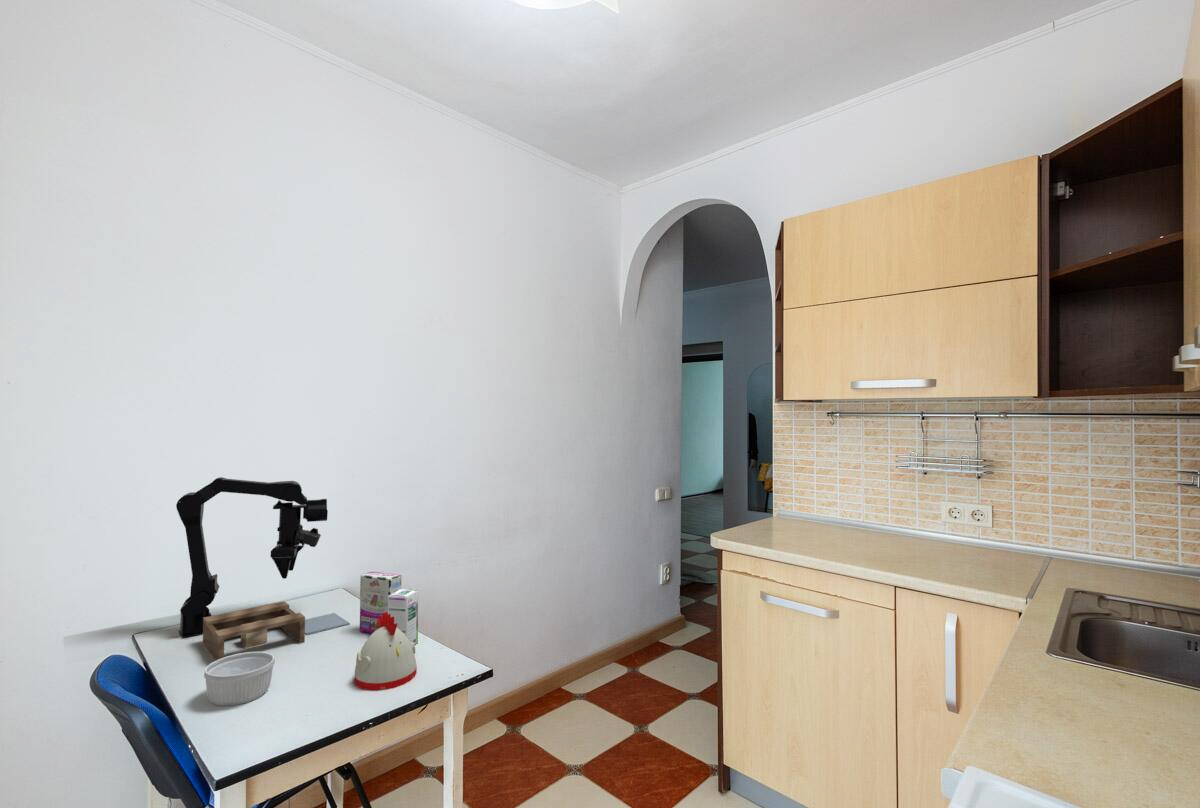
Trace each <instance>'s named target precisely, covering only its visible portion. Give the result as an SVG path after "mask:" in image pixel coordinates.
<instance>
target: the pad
mask: <svg viewBox="0 0 1200 808" xmlns="http://www.w3.org/2000/svg"><path fill="white" fill-rule="evenodd" d="M348 625H350V622H349V621H348V620H345V619H344V618H343V617H341V616H340V615H338V614H337V613H335V612H332V613H327V614H323V615H318V616H314V617H311V618H305V636H310V635H312V634H317V633H321V632H325V631H330V630H332V629H333V630H334V629H337V628H340V627H345V626H348Z"/></svg>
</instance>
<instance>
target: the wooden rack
mask: <svg viewBox="0 0 1200 808" xmlns="http://www.w3.org/2000/svg"><path fill="white" fill-rule="evenodd" d="M305 619H306V616H305V615H303V613H301V612H295V611H294V610H293V609H291V608H290V604H289V603H288V602H286V601H285V600H283V601H278V602H273V603H269V604H264V605H257V606H254V607H249V608H244V609H240V610H234V611H229V612H224V613H220V614H214V615H211V616H209V617H204V618H203V634H202V645H203V646H204V647H205V649H206V650H207V651H208V653H209V654H210V655H211V657H212V658H213V659H214V661H216V660H219V659H221V658H224V657H225V641H227V640H231V639H236V638H239V637H240V638H241V635H243V634H247V633H252V632H256V631H260V630H265V629H267V631H269V630H274V629H279V628H281V629H282V630H284V632H286V633H287V634H288V635H289V636H290V637H292V638H293V639H294V640H295V641H296V642H297V643H298V644H303V643H305V636H306V635H305ZM261 620H262V621H261ZM257 621H259V622H257ZM252 622H254V623H252ZM248 623H249V624H248ZM243 624H245V625H243Z"/></svg>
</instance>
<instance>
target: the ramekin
mask: <svg viewBox="0 0 1200 808" xmlns="http://www.w3.org/2000/svg"><path fill="white" fill-rule="evenodd" d="M274 665H275V656H274V654H272V653H270V652H266V651H247V652H241V653H240V652H239V653H235V654H230V655H228V656H224V658H221V659H219V660H216V661H215V660H214V661H212V662H211V663H210V664H208V665H207V666H206V667H205V668H204V672H203V677H204V680H205V686H206V695H207V698H208V700H209V701H210V702H211V703H212V704H213V705H215V706H221V707H229V706H230V707H231V706H237V705H242V704H245V703H249V702H252V701H253V700H254V701H255V700H256V699H258V698H260V697H261V696H263V695H264V694H265V693H266V692H267V691H268V689H269V688H270V686H271V681H272V676H273V668H274Z"/></svg>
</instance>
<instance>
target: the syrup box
mask: <svg viewBox="0 0 1200 808" xmlns="http://www.w3.org/2000/svg"><path fill="white" fill-rule="evenodd" d="M418 593H419V592H418V590H417V589H411V588H410V589H409V588H407V589H406V588H403V589H402V588H401V589H399V590H398V591H397V592H395V593H393V594H391V595H389V596H388V614H390V615H391V617H393V616H394V624H396V623H397V628H398V629H399V630H401V631H402V632H403V633H404V634H405V635H406V637H407V638H408V640H409V641H410V643H411V642H414V645H417V644H418V643H419V607H418V605H419V598H418V596H419V594H418Z"/></svg>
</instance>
